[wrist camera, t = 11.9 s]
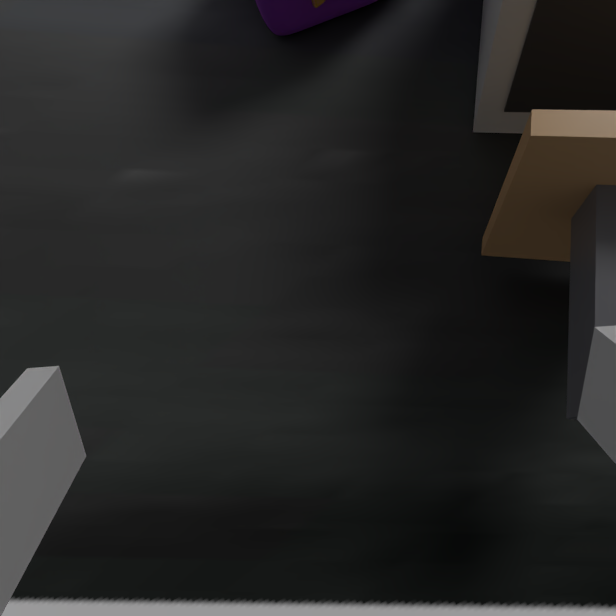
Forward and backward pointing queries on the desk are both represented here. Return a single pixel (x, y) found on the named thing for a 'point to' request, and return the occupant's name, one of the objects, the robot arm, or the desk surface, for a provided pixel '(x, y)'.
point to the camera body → (543, 60)
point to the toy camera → (303, 13)
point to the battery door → (565, 219)
